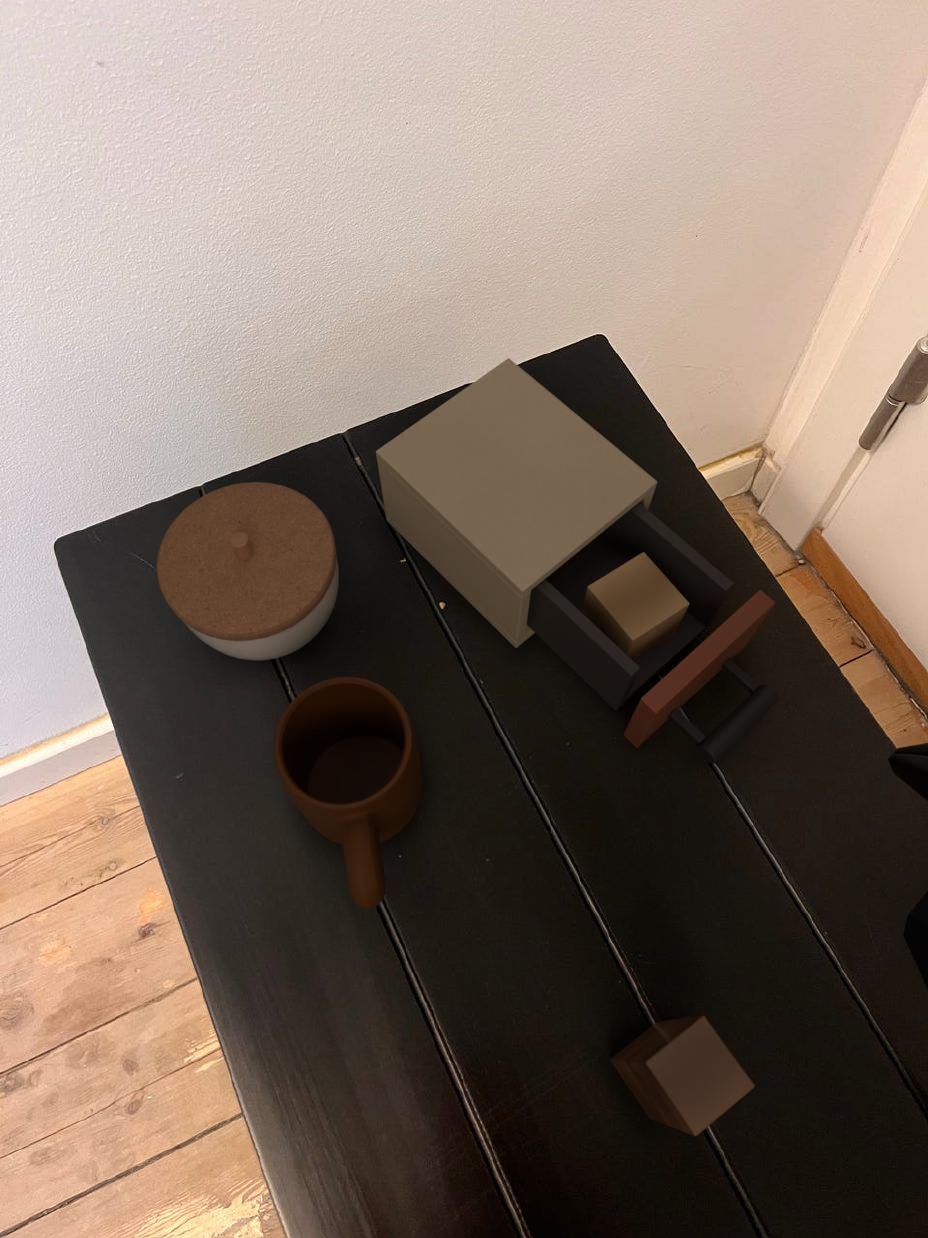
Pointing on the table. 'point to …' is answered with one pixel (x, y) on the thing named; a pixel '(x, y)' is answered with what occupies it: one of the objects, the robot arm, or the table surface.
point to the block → (635, 606)
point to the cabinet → (505, 491)
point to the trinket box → (251, 570)
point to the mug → (351, 772)
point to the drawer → (622, 677)
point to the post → (683, 1073)
